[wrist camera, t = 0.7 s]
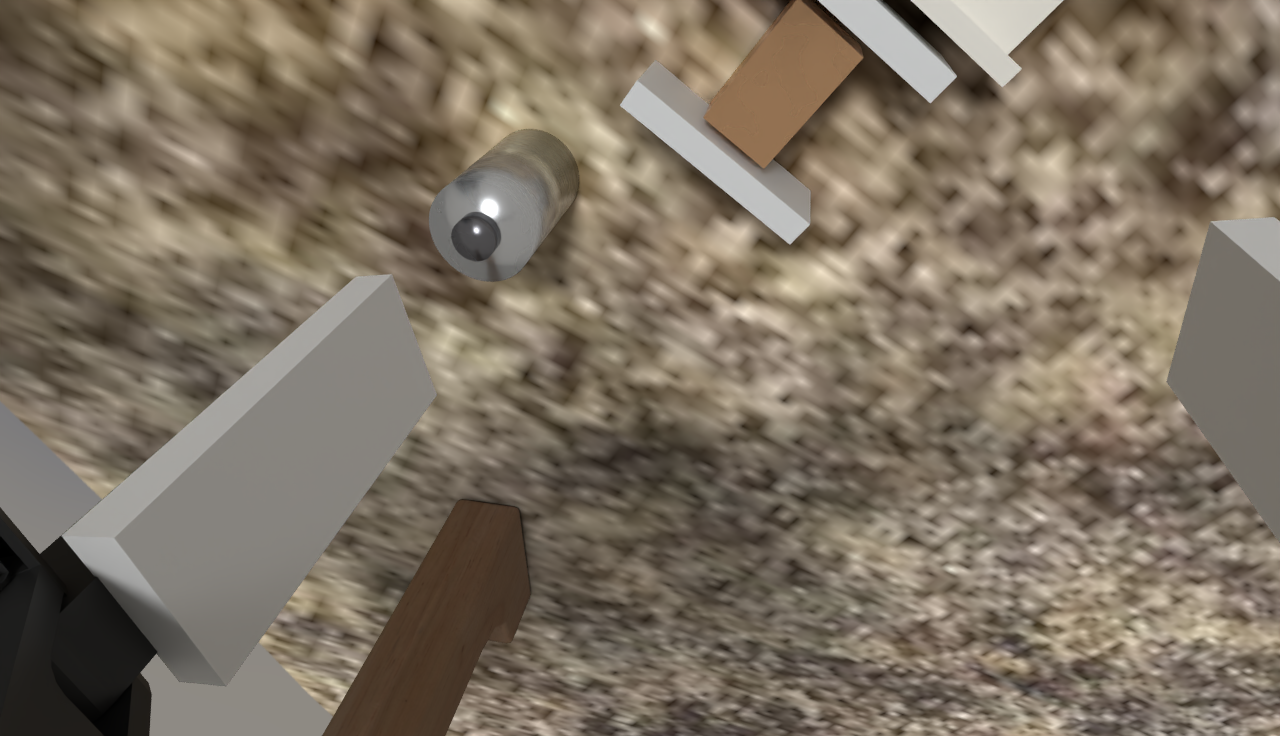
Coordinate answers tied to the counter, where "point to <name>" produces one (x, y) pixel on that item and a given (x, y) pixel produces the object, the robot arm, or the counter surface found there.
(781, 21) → the plate
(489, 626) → the wooden block
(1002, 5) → the rack
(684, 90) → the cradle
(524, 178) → the cell
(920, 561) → the counter surface
